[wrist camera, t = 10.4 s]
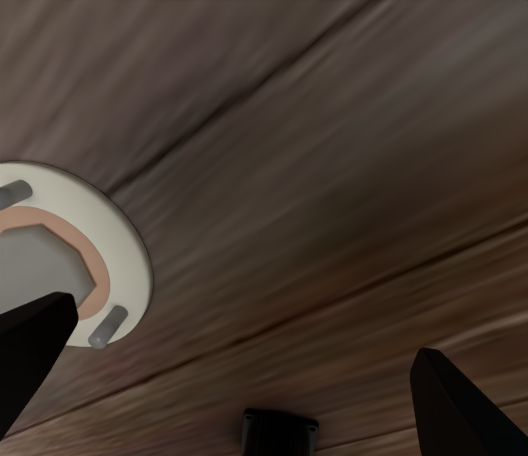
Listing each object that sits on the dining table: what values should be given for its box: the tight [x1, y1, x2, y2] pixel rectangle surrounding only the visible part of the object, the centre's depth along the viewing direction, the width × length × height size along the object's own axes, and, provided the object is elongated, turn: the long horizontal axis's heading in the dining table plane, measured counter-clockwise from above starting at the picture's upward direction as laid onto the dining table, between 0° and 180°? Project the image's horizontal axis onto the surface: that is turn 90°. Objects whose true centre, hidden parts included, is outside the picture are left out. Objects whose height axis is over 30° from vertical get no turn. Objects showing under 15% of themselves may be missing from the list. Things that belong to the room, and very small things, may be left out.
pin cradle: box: [0, 161, 153, 349], centre depth 22 cm, size 15×15×4 cm
